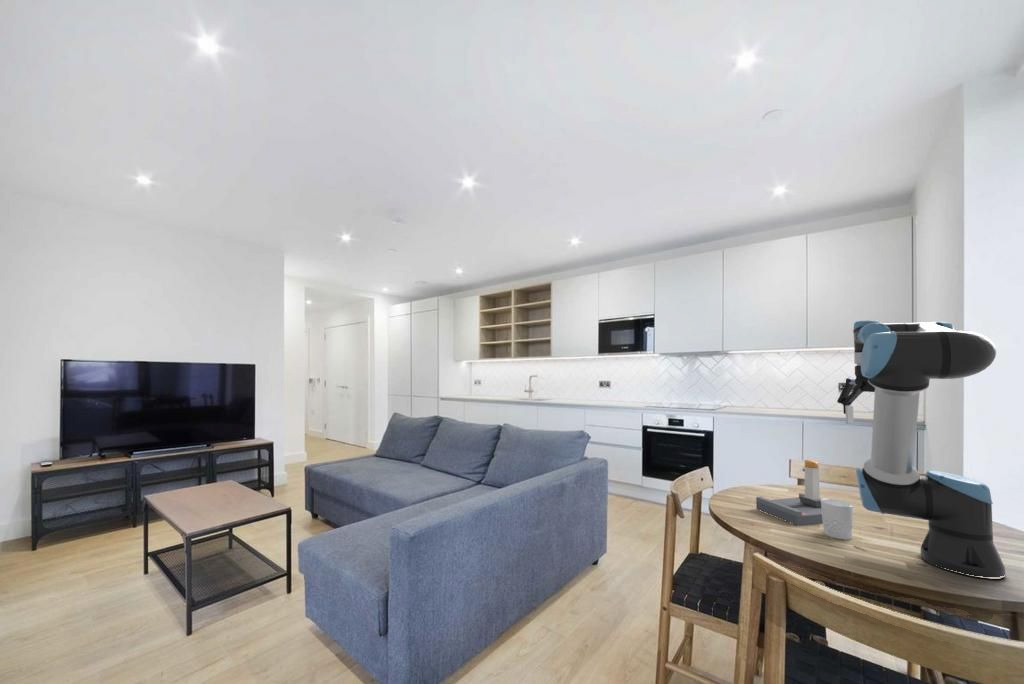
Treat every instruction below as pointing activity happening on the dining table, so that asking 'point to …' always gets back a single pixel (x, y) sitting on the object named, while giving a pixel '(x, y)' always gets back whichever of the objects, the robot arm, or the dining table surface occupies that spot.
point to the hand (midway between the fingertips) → (870, 426)
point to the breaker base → (792, 518)
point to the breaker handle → (811, 484)
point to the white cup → (837, 518)
